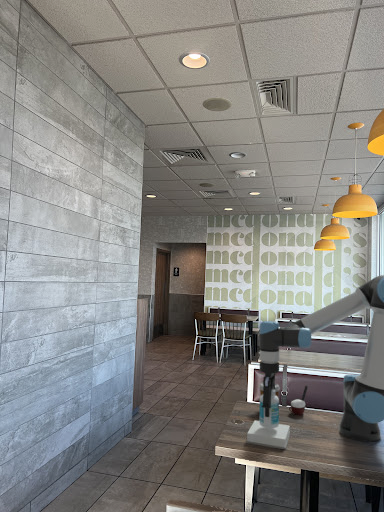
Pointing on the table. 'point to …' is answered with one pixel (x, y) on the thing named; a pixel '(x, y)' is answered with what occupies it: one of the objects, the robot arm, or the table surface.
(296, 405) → the cocoa
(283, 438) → the block
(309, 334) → the robot arm
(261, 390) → the disposable coffee cup
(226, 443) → the table surface
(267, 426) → the pill bottle
